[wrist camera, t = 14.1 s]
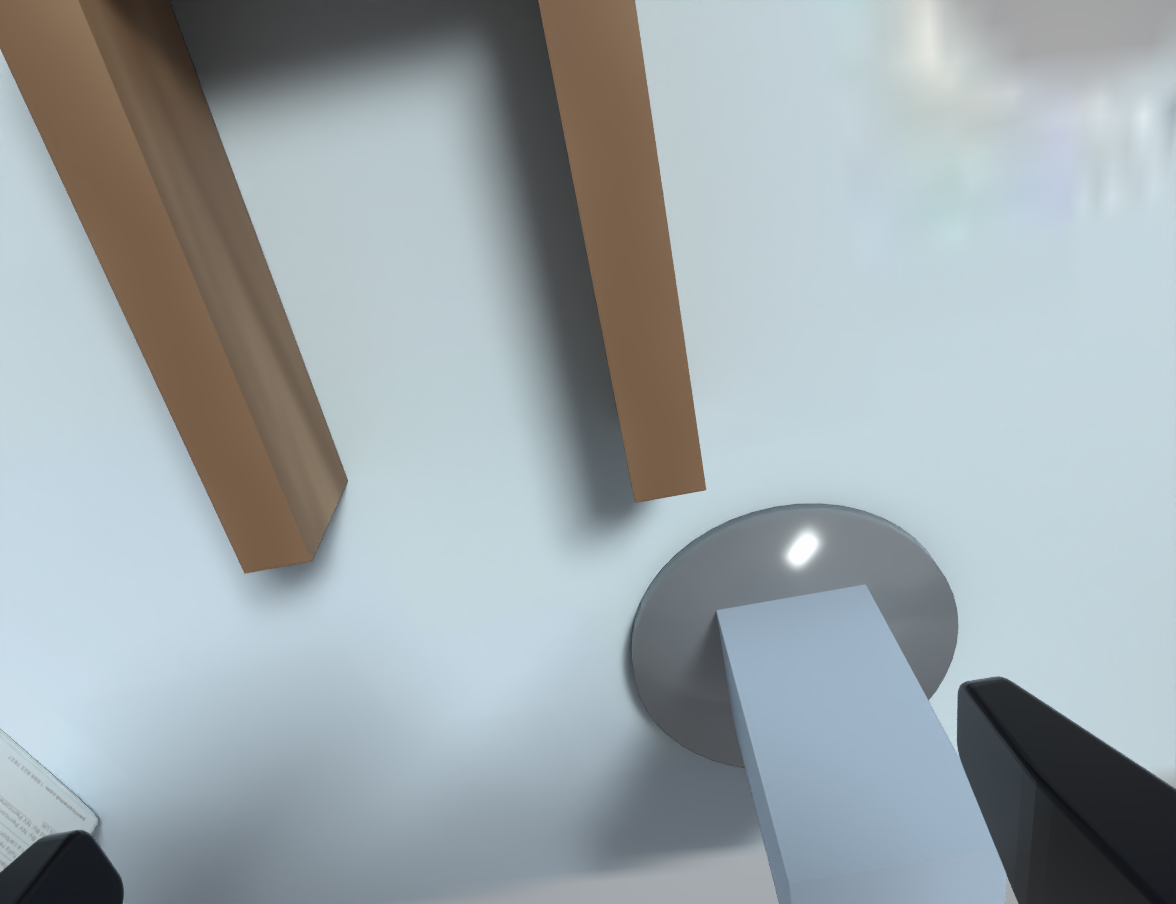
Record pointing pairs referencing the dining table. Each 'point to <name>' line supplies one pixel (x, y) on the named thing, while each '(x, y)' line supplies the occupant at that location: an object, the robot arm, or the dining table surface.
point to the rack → (243, 280)
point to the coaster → (771, 572)
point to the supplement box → (33, 803)
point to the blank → (850, 759)
